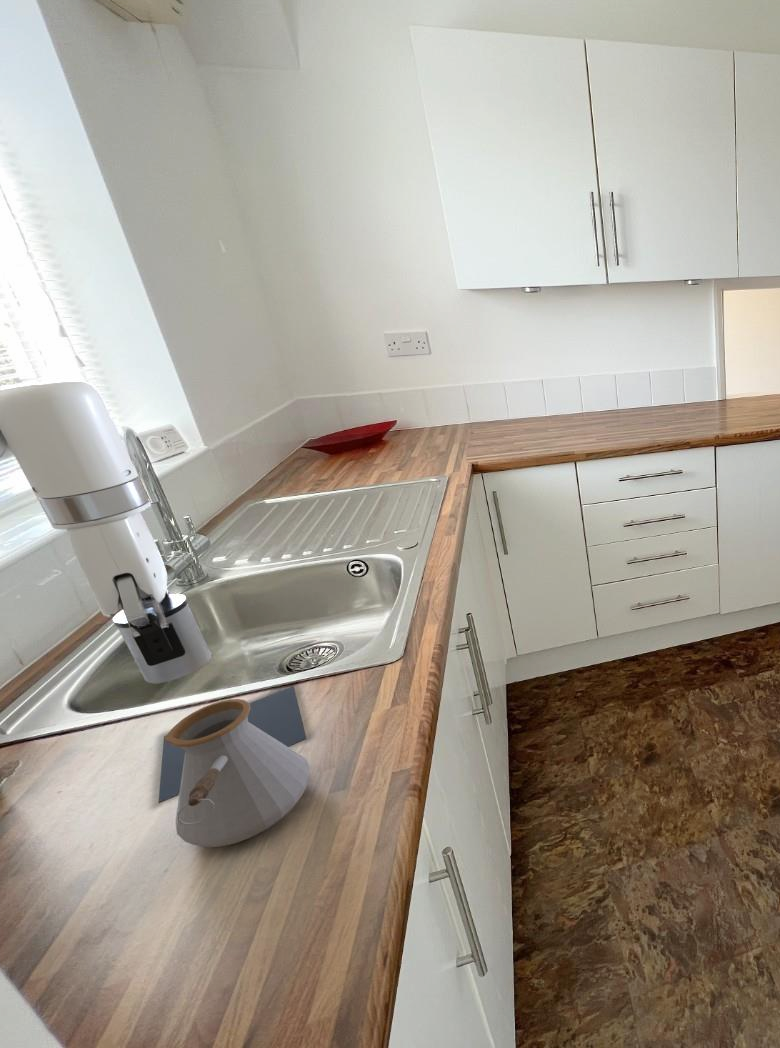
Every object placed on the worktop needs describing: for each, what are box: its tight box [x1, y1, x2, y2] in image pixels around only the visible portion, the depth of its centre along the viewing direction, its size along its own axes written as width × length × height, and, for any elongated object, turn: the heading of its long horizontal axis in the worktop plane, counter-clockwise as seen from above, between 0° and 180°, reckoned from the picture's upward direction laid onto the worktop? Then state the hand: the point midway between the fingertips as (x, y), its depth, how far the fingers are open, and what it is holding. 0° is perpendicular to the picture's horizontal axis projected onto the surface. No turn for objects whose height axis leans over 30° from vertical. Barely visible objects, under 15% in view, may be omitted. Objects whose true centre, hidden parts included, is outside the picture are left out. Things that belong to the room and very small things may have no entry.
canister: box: [112, 593, 212, 684], centre depth 67 cm, size 6×6×8 cm
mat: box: [158, 685, 307, 804], centre depth 74 cm, size 14×14×1 cm
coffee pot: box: [163, 698, 311, 848], centre depth 57 cm, size 21×12×15 cm, turn 37°
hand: (168, 645), depth 67 cm, fingers closed on canister, 6 cm apart
